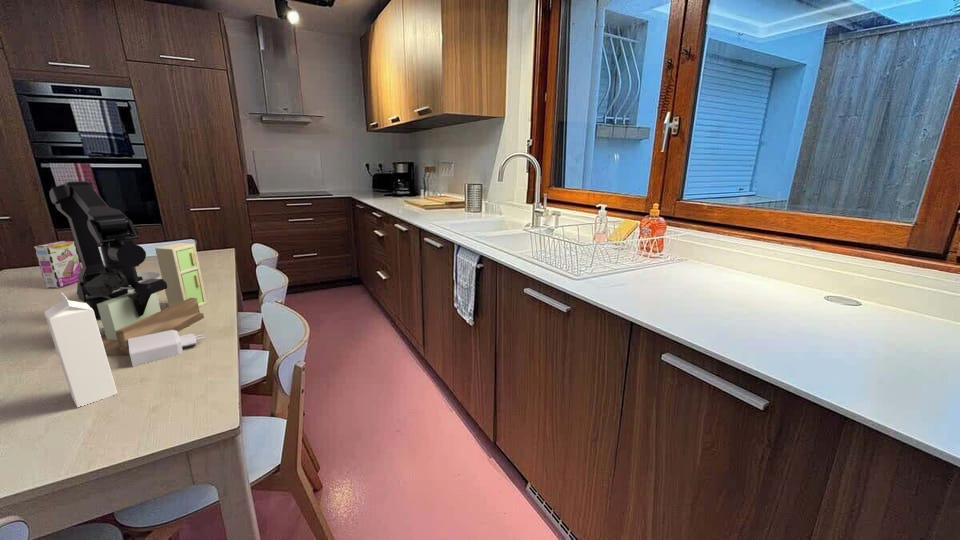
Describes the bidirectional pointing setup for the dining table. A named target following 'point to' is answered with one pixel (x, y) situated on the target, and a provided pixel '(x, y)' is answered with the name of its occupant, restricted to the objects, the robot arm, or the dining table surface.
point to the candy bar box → (58, 263)
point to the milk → (80, 351)
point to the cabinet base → (154, 325)
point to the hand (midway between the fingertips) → (133, 315)
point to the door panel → (123, 313)
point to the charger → (159, 346)
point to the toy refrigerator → (181, 273)
